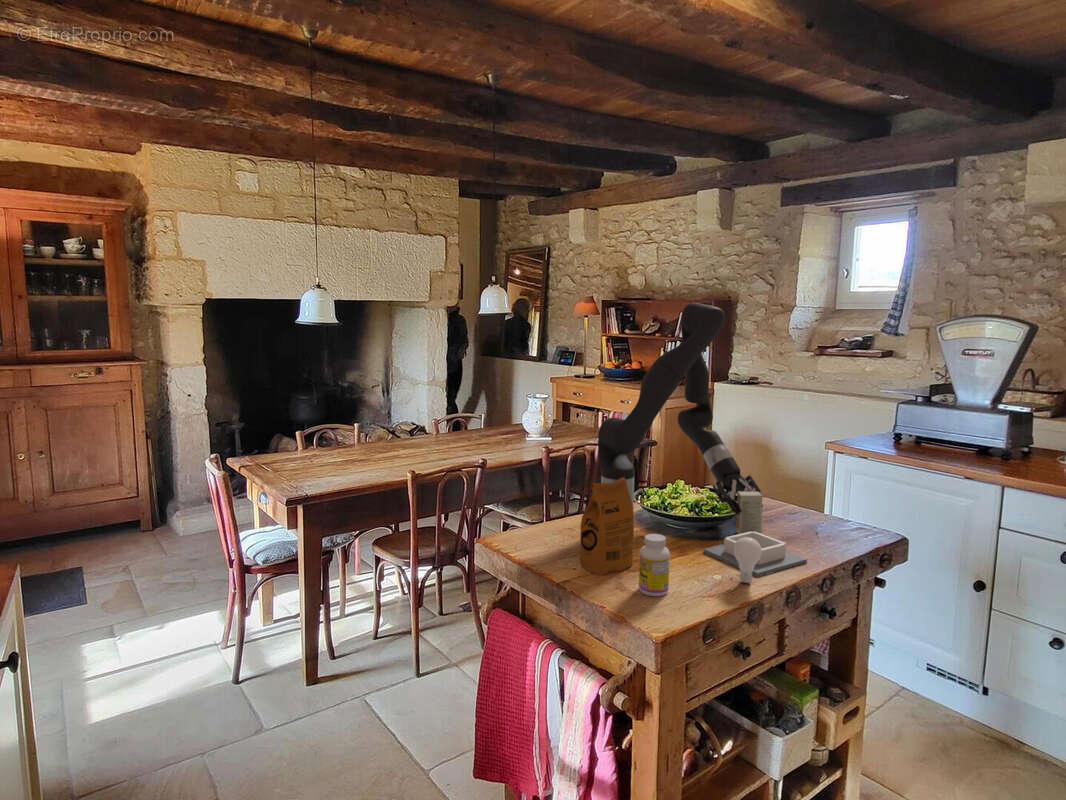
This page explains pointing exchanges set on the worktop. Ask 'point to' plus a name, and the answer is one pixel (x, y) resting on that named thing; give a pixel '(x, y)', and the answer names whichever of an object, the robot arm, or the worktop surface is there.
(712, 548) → the holder
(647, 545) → the supplement bottle
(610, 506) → the coffee package
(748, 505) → the skincare box
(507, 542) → the worktop surface
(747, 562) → the lightbulb
